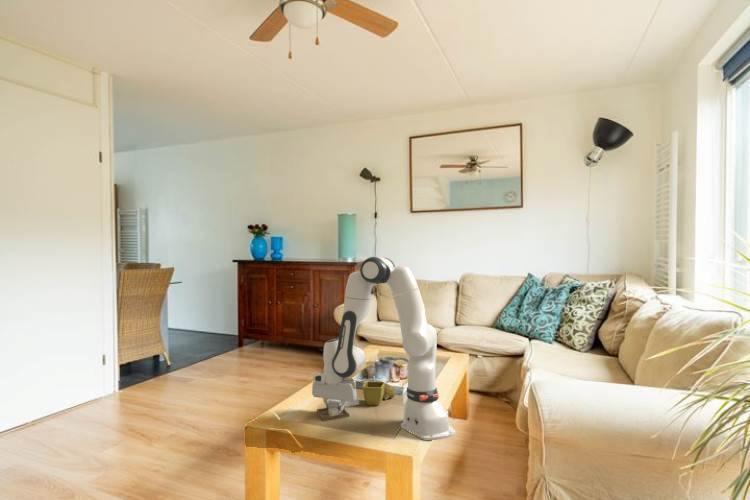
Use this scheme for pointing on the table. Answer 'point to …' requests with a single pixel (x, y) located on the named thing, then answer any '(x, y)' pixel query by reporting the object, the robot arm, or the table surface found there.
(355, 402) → the grey bin
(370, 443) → the table surface
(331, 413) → the small pebble
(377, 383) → the flower pot
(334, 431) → the table surface
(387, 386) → the seashell
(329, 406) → the pebble
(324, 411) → the gravel tray
